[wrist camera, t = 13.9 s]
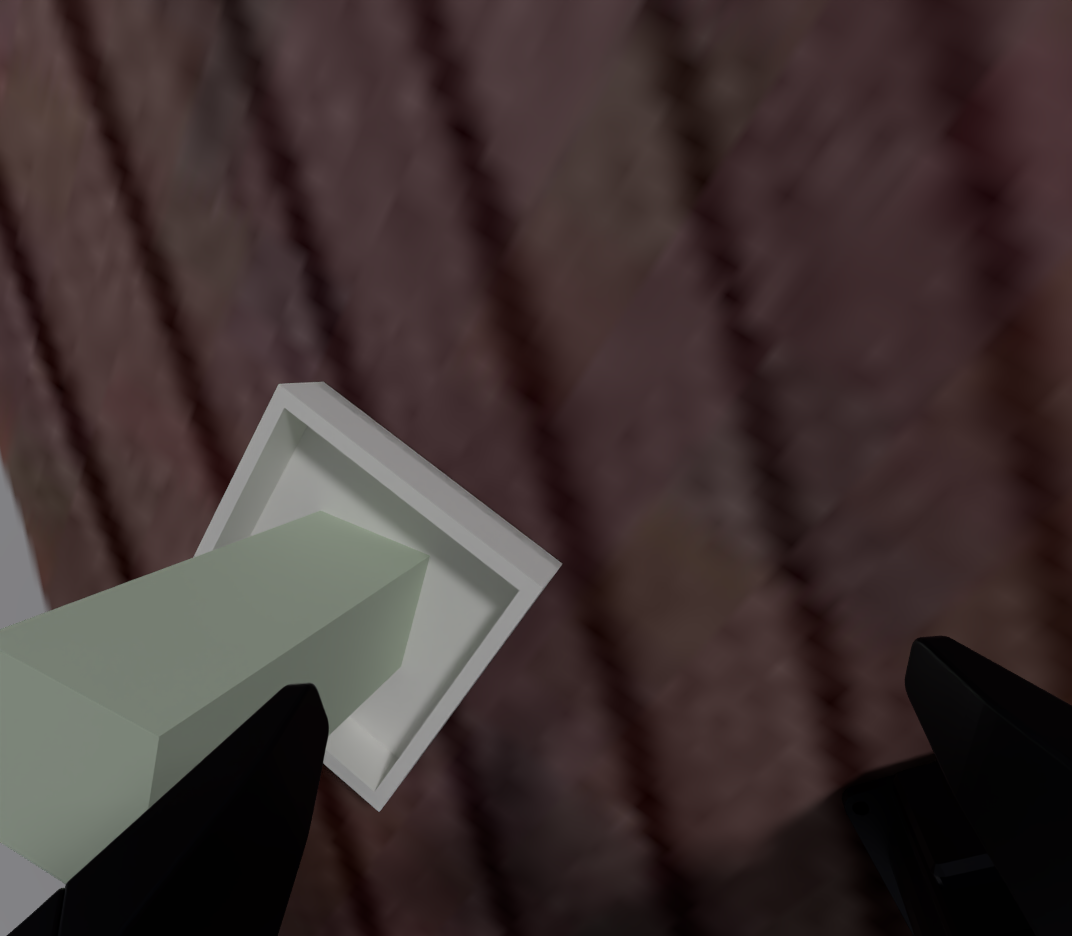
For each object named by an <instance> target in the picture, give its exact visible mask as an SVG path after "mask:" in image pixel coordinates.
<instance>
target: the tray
mask: <svg viewBox="0 0 1072 936" xmlns="http://www.w3.org/2000/svg"><path fill="white" fill-rule="evenodd" d="M318 511H323V512H325V513H328V514H330V515H332V516H335V517H337V518H340V519H342V520H345V521H347V522H349V523H352V524H354V525H357V526H359V527H362V528H364V529H366V530H369V531H371V532H374V533H376V534H379V535H381V536H383V537H386V538H388V539H391V540H393V541H396V542H398V543H400V544H403V545H405V546H408V547H410V548H413V549H415V550H417V551H420V552H422V553H425V554H427V555H430V558H429V562H428V566H427V570H426V573H425V577H424V581H423V585H422V589H421V592H420V596H419V600H418V604H417V608H416V612H415V615H414V619H413V623H412V627H411V631H410V634H409V638H408V642H407V646H406V650H405V653H404V657H403V661H402V665H401V667H400V668H399V669H398V670H397V671H396V672H395V673H394V674H393V675H392V676H391V677H390V678H389V679H388V680H387V681H385V682H384V683H383V684H382V685H381V686H380V687H379V688H378V689H377V690H376V691H375V692H374V693H373V694H372V695H371V696H370V697H369V698H368V699H367V700H366V701H365V702H363V703H362V704H361V705H360V706H359V707H358V708H357V709H356V710H355V711H354V712H353V713H352V714H351V715H350V716H349V717H348V718H347V719H346V720H345V721H344V722H343V723H341V724H340V725H339V726H338V727H337V728H336V729H335V730H334V731H333V732H332V733H331V734H330V735H329V736H328V741H327V746H326V751H325V756H324V761H323V763H324V764H325V765H326V766H327V767H328V768H329V769H330V770H332V771H333V772H334V773H335V774H336V775H337V776H338V777H340V778H341V779H342V780H343V781H344V782H345V783H346V784H348V785H349V786H350V787H351V788H352V789H353V790H354V791H356V792H357V793H358V794H359V795H360V796H361V797H362V798H364V799H365V800H366V801H367V802H368V803H369V804H370V805H372V806H373V807H374V808H375V809H376V810H377V811H378V812H380V810H381V809H382V808H383V806H384V805H385V804H386V803H387V801H388V800H389V799H390V797H391V796H392V795H393V793H394V792H395V791H396V789H397V788H398V787H399V785H400V784H401V783H402V781H403V780H404V779H405V777H406V776H407V775H408V773H409V772H410V771H411V769H412V768H413V767H414V765H415V764H416V763H417V761H418V760H419V759H420V757H421V756H422V755H423V753H424V752H425V750H426V749H427V748H428V746H429V745H430V744H431V742H432V741H433V740H434V738H435V737H436V735H437V734H438V733H439V731H440V730H441V729H442V727H443V726H444V725H445V723H446V722H447V720H448V719H449V718H450V716H451V715H452V714H453V712H454V711H455V710H456V708H457V707H458V706H459V704H460V703H461V701H462V700H463V699H464V697H465V696H466V695H467V693H468V692H469V691H470V689H471V688H472V686H473V685H474V684H475V682H476V681H477V680H478V678H479V677H480V676H481V674H482V673H483V672H484V670H485V669H486V667H487V666H488V665H489V663H490V662H491V661H492V659H493V658H494V657H495V655H496V654H497V652H498V651H499V650H500V648H501V647H502V646H503V644H504V643H505V642H506V640H507V639H508V637H509V636H510V635H511V633H512V632H513V631H514V629H515V628H516V627H517V625H518V624H519V623H520V621H521V620H522V618H523V617H524V616H525V614H526V613H527V612H528V610H529V609H530V608H531V606H532V605H533V603H534V602H535V601H536V599H537V598H538V597H539V595H540V594H541V593H542V591H543V590H544V589H545V587H546V586H547V584H548V583H549V582H550V580H551V579H552V578H553V576H554V575H555V574H556V572H557V571H558V569H559V568H560V567H561V565H562V563H561V562H560V561H558V560H557V559H556V558H554V557H553V556H552V555H550V554H549V553H548V552H546V551H545V550H544V549H542V548H541V547H540V546H539V545H537V544H536V543H535V542H533V541H532V540H531V539H529V538H528V537H527V536H525V535H524V534H523V533H521V532H520V531H519V530H517V529H516V528H515V527H514V526H512V525H511V524H510V523H508V522H507V521H506V520H504V519H503V518H502V517H500V516H499V515H498V514H496V513H495V512H494V511H493V510H491V509H490V508H489V507H487V506H486V505H485V504H483V503H482V502H481V501H479V500H478V499H477V498H475V497H474V496H473V495H472V494H470V493H469V492H468V491H466V490H465V489H464V488H462V487H461V486H460V485H458V484H457V483H456V482H454V481H453V480H452V479H451V478H449V477H448V476H447V475H445V474H444V473H443V472H441V471H440V470H439V469H437V468H436V467H435V466H433V465H432V464H431V463H430V462H428V461H427V460H426V459H424V458H423V457H422V456H420V455H419V454H418V453H416V452H415V451H414V450H412V449H411V448H410V447H408V446H407V445H406V444H405V443H403V442H402V441H401V440H399V439H398V438H397V437H395V436H394V435H393V434H391V433H390V432H389V431H387V430H386V429H385V428H384V427H382V426H381V425H380V424H378V423H377V422H376V421H374V420H373V419H372V418H370V417H369V416H368V415H366V414H365V413H364V412H363V411H361V410H360V409H359V408H357V407H356V406H355V405H353V404H352V403H351V402H349V401H348V400H347V399H345V398H344V397H343V396H342V395H340V394H339V393H338V392H336V391H335V390H334V389H332V388H331V387H330V386H328V385H327V384H326V383H324V382H309V383H289V384H279V385H278V387H277V389H276V391H275V393H274V395H273V397H272V399H271V401H270V403H269V405H268V407H267V409H266V411H265V413H264V415H263V417H262V419H261V421H260V423H259V425H258V427H257V429H256V431H255V433H254V435H253V437H252V439H251V441H250V443H249V445H248V448H247V450H246V452H245V454H244V456H243V458H242V460H241V462H240V464H239V466H238V468H237V470H236V472H235V474H234V476H233V478H232V480H231V482H230V484H229V486H228V488H227V490H226V492H225V494H224V496H223V498H222V500H221V502H220V504H219V506H218V508H217V510H216V513H215V515H214V517H213V519H212V521H211V523H210V525H209V527H208V529H207V531H206V533H205V535H204V537H203V539H202V541H201V543H200V545H199V547H198V549H197V551H196V553H195V555H194V557H197V556H199V555H202V554H205V553H207V552H210V551H213V550H215V549H218V548H221V547H224V546H226V545H229V544H232V543H234V542H237V541H240V540H242V539H245V538H248V537H251V536H253V535H256V534H259V533H261V532H264V531H267V530H269V529H272V528H275V527H277V526H280V525H283V524H286V523H288V522H291V521H294V520H296V519H299V518H302V517H304V516H307V515H310V514H312V513H315V512H318ZM194 557H193V558H194Z"/></svg>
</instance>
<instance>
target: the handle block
mask: <svg viewBox="0 0 1072 936" xmlns="http://www.w3.org/2000/svg"><path fill="white" fill-rule="evenodd" d="M429 558H430V555H427V554H425V553H422V552H420V551H417V550H415V549H413V548H410V547H408V546H405V545H403V544H400V543H398V542H396V541H393V540H391V539H388V538H386V537H383V536H381V535H379V534H376V533H374V532H371V531H369V530H366V529H364V528H362V527H359V526H357V525H354V524H352V523H349V522H347V521H345V520H342V519H340V518H337V517H335V516H332V515H330V514H328V513H325V512H323V511H318V512H315V513H312V514H310V515H307V516H304V517H302V518H299V519H296V520H294V521H291V522H288V523H286V524H283V525H280V526H277V527H275V528H272V529H269V530H267V531H264V532H261V533H259V534H256V535H253V536H251V537H248V538H245V539H242V540H240V541H237V542H234V543H232V544H229V545H226V546H224V547H221V548H218V549H215V550H213V551H210V552H207V553H205V554H202V555H199V556H197V557H194V558H191V559H189V560H186V561H183V562H180V563H178V564H175V565H172V566H170V567H167V568H164V569H162V570H159V571H156V572H154V573H151V574H148V575H145V576H143V577H140V578H137V579H135V580H132V581H129V582H127V583H124V584H121V585H119V586H116V587H113V588H110V589H108V590H105V591H102V592H100V593H97V594H94V595H92V596H89V597H86V598H84V599H81V600H78V601H75V602H73V603H70V604H67V605H65V606H62V607H59V608H57V609H54V610H51V611H48V612H46V613H43V614H40V615H38V616H35V617H33V618H30V619H27V620H24V621H22V622H19V623H16V624H14V625H11V626H8V627H5V628H3V629H0V843H2V844H4V845H5V846H7V847H8V848H10V849H11V850H13V851H14V852H16V853H18V854H19V855H21V856H22V857H24V858H25V859H27V860H28V861H30V862H32V863H33V864H35V865H36V866H38V867H40V868H41V869H43V870H44V871H46V872H47V873H49V874H50V875H52V876H54V877H55V878H57V879H58V880H60V881H62V882H63V883H64V884H66V883H67V882H68V881H69V880H70V879H71V878H72V877H73V876H74V875H76V874H77V873H78V872H79V871H80V870H81V869H82V868H83V867H84V866H85V865H87V864H88V863H89V862H90V861H91V860H92V859H93V858H94V857H95V856H97V855H98V854H99V853H100V852H101V851H102V850H103V849H104V848H105V847H107V846H108V845H109V844H110V843H111V842H112V841H113V840H114V839H115V838H117V837H118V836H119V835H120V834H121V833H122V832H123V831H124V830H125V829H126V828H128V827H129V826H130V825H131V824H132V823H133V822H134V821H135V820H136V819H138V818H139V817H140V816H141V815H142V814H143V813H144V812H145V811H146V810H148V809H149V808H150V807H151V806H152V805H153V804H154V803H155V802H156V801H157V800H159V799H160V798H161V797H162V796H163V795H164V794H165V793H166V792H167V791H169V790H170V789H171V788H172V787H173V786H174V785H175V784H176V783H177V782H179V781H180V780H181V779H182V778H183V777H184V776H185V775H186V774H187V773H189V772H190V771H191V770H192V769H193V768H194V767H195V766H196V765H197V764H198V763H200V762H201V761H202V760H203V759H204V758H205V757H206V756H207V755H208V754H210V753H211V752H212V751H213V750H214V749H215V748H216V747H217V746H218V745H220V744H221V743H222V742H223V741H224V740H225V739H226V738H227V737H228V736H230V735H231V734H232V733H233V732H234V731H235V730H236V729H237V728H238V727H239V726H241V725H242V724H243V723H244V722H245V721H246V720H247V719H248V718H249V717H251V716H252V715H253V714H254V713H255V712H256V711H257V710H258V709H259V708H261V707H262V706H263V705H264V704H265V703H266V702H267V701H268V700H269V699H270V698H272V697H273V696H274V695H275V694H276V693H277V692H278V691H279V690H280V689H282V688H283V687H284V686H286V685H288V684H296V683H313V684H314V685H315V686H316V688H317V690H318V692H319V695H320V698H321V701H322V704H323V706H324V709H325V712H326V715H327V718H328V722H329V735H330V734H331V733H332V732H333V731H334V730H335V729H336V728H337V727H338V726H339V725H340V724H341V723H343V722H344V721H345V720H346V719H347V718H348V717H349V716H350V715H351V714H352V713H353V712H354V711H355V710H356V709H357V708H358V707H359V706H360V705H361V704H362V703H363V702H365V701H366V700H367V699H368V698H369V697H370V696H371V695H372V694H373V693H374V692H375V691H376V690H377V689H378V688H379V687H380V686H381V685H382V684H383V683H384V682H385V681H387V680H388V679H389V678H390V677H391V676H392V675H393V674H394V673H395V672H396V671H397V670H398V669H399V668H400V667H401V665H402V661H403V657H404V653H405V650H406V646H407V642H408V638H409V634H410V631H411V627H412V623H413V619H414V615H415V612H416V608H417V604H418V600H419V596H420V592H421V589H422V585H423V581H424V577H425V573H426V570H427V566H428V562H429ZM329 735H328V736H329Z"/></svg>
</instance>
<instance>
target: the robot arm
mask: <svg viewBox="0 0 1072 936" xmlns="http://www.w3.org/2000/svg"><path fill="white" fill-rule="evenodd" d="M905 688H906V692H907V695H908V697H909V700H910V702H911V704H912V706H913V708H914V710H915V713H916V715H917V717H918V719H919V721H920V723H921V726H922V728H923V730H924V732H925V734H926V736H927V739H928V741H929V743H930V745H931V747H932V749H933V752H934V754H935V756H936V758H937V760H938V761H937V762H933V763H930V764H926V765H923V766H919V767H916V768H912V769H909V770H905V771H902V772H899V773H897V774H896V775H893V776H889V777H886V778H882V779H878V780H875V781H871V782H868V783H864V784H861V785H857V786H854V787H851V788H849V789H847V790H846V791H845V792H844V793H843V796H842V800H843V804H844V808H845V811H846V813H847V815H848V817H849V819H850V821H851V822H852V824H853V826H854V828H855V830H856V832H857V833H858V835H859V837H860V839H861V841H862V843H863V844H864V846H865V848H866V850H867V852H868V853H869V855H870V857H871V859H872V861H873V863H874V864H875V866H876V868H877V870H878V872H879V874H880V875H881V877H882V879H883V881H884V883H885V885H886V886H887V888H888V890H889V892H890V894H891V895H892V897H893V899H894V901H895V903H896V905H897V906H898V908H899V910H900V912H901V914H902V916H903V917H904V919H905V921H906V923H907V925H908V927H909V928H910V930H911V932H912V934H913V936H1072V705H1070V704H1068V703H1066V702H1064V701H1063V700H1061V699H1059V698H1057V697H1055V696H1054V695H1052V694H1050V693H1048V692H1047V691H1045V690H1043V689H1041V688H1039V687H1038V686H1036V685H1034V684H1032V683H1030V682H1029V681H1027V680H1025V679H1023V678H1021V677H1020V676H1018V675H1016V674H1014V673H1012V672H1011V671H1009V670H1007V669H1005V668H1003V667H1002V666H1000V665H998V664H996V663H994V662H993V661H991V660H989V659H987V658H985V657H984V656H982V655H980V654H978V653H977V652H975V651H973V650H971V649H969V648H968V647H966V646H964V645H962V644H960V643H959V642H957V641H955V640H953V639H951V638H949V637H946V636H932V637H920V638H917V639H916V640H915V641H914V642H913V644H912V647H911V652H910V657H909V661H908V666H907V670H906V675H905ZM328 735H329V722H328V718H327V715H326V712H325V709H324V706H323V704H322V701H321V698H320V695H319V692H318V690H317V688H316V686H315V685H314V684H313V683H296V684H288V685H286V686H284V687H283V688H282V689H280V690H279V691H278V692H277V693H276V694H275V695H274V696H273V697H272V698H270V699H269V700H268V701H267V702H266V703H265V704H264V705H263V706H262V707H261V708H259V709H258V710H257V711H256V712H255V713H254V714H253V715H252V716H251V717H249V718H248V719H247V720H246V721H245V722H244V723H243V724H242V725H241V726H239V727H238V728H237V729H236V730H235V731H234V732H233V733H232V734H231V735H230V736H228V737H227V738H226V739H225V740H224V741H223V742H222V743H221V744H220V745H218V746H217V747H216V748H215V749H214V750H213V751H212V752H211V753H210V754H208V755H207V756H206V757H205V758H204V759H203V760H202V761H201V762H200V763H198V764H197V765H196V766H195V767H194V768H193V769H192V770H191V771H190V772H189V773H187V774H186V775H185V776H184V777H183V778H182V779H181V780H180V781H179V782H177V783H176V784H175V785H174V786H173V787H172V788H171V789H170V790H169V791H167V792H166V793H165V794H164V795H163V796H162V797H161V798H160V799H159V800H157V801H156V802H155V803H154V804H153V805H152V806H151V807H150V808H149V809H148V810H146V811H145V812H144V813H143V814H142V815H141V816H140V817H139V818H138V819H136V820H135V821H134V822H133V823H132V824H131V825H130V826H129V827H128V828H126V829H125V830H124V831H123V832H122V833H121V834H120V835H119V836H118V837H117V838H115V839H114V840H113V841H112V842H111V843H110V844H109V845H108V846H107V847H105V848H104V849H103V850H102V851H101V852H100V853H99V854H98V855H97V856H95V857H94V858H93V859H92V860H91V861H90V862H89V863H88V864H87V865H85V866H84V867H83V868H82V869H81V870H80V871H79V872H78V873H77V874H76V875H74V876H73V877H72V878H71V879H70V880H69V881H68V882H67V883H66V886H65V888H61V889H59V890H58V891H56V892H55V893H54V894H53V895H52V896H51V897H50V898H49V899H48V900H46V901H45V902H44V903H43V904H42V905H41V906H40V907H39V908H38V909H37V910H35V911H34V912H33V913H32V914H31V915H30V916H29V917H28V918H26V919H25V920H24V921H23V922H22V923H21V924H20V925H18V926H17V927H16V928H15V929H14V930H13V931H12V932H10V933H9V934H8V935H7V936H278V933H279V929H280V926H281V923H282V920H283V917H284V913H285V910H286V907H287V904H288V900H289V897H290V894H291V891H292V887H293V884H294V881H295V878H296V874H297V871H298V868H299V865H300V862H301V858H302V855H303V852H304V848H305V845H306V841H307V838H308V833H309V829H310V824H311V820H312V815H313V810H314V805H315V800H316V795H317V790H318V785H319V780H320V775H321V770H322V765H323V761H324V756H325V751H326V746H327V741H328ZM857 801H862V802H865V803H866V804H865V805H864V806H862V807H857V806H854V805H853V804H854V803H855V802H857Z"/></svg>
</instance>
